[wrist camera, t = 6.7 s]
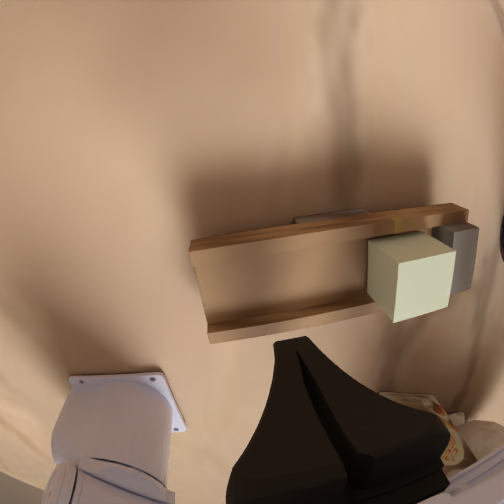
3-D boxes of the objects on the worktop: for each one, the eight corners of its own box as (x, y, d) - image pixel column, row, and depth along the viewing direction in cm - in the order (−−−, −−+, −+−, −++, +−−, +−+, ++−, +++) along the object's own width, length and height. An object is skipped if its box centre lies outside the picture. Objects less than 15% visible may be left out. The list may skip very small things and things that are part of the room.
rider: (366, 292, 19) (393, 323, 16) (368, 239, 18) (398, 263, 15) (417, 280, 19) (447, 306, 16) (421, 230, 18) (456, 250, 15)
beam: (210, 310, 22) (209, 358, 17) (193, 229, 20) (185, 261, 15) (431, 268, 23) (470, 298, 18) (435, 196, 21) (481, 215, 16)
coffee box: (434, 392, 30) (500, 490, 15) (405, 428, 31) (456, 524, 17) (379, 389, 28) (448, 517, 13) (348, 429, 30) (396, 549, 15)
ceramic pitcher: (478, 356, 30) (586, 486, 7) (503, 405, 35) (571, 497, 11) (352, 459, 34) (398, 609, 11) (407, 482, 39) (448, 585, 15)
